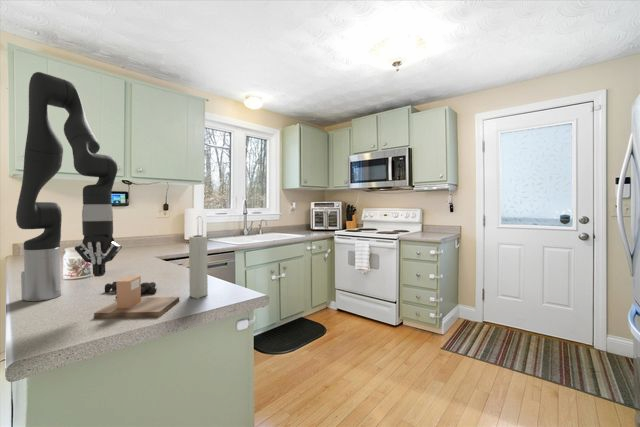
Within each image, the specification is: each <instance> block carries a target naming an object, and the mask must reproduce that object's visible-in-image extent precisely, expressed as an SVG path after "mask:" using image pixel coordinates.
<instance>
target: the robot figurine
mask: <svg viewBox="0 0 640 427" xmlns="http://www.w3.org/2000/svg"><path fill="white" fill-rule="evenodd" d="M116 282H117V280H116V281H113V282H112V283H106V284H105V285H104V293H109V292H110V291H111V290H112V291H117V286H116ZM156 286H157V284H156V283H155V282H154V281H153V282H147V281H146V282H142V283H141V294H145V293H148V294H150V295H155V294H156V293H157V291H158V289H157V288H156ZM115 300H117V295H115Z"/></svg>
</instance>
